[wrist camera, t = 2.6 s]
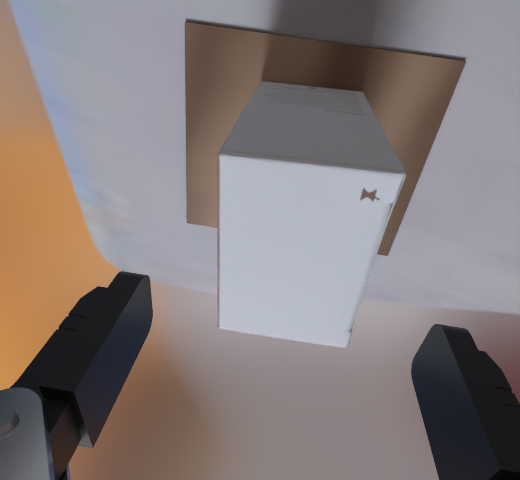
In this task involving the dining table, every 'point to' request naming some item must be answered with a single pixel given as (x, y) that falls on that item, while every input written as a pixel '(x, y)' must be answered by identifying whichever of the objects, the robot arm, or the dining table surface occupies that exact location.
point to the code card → (307, 74)
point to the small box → (302, 212)
